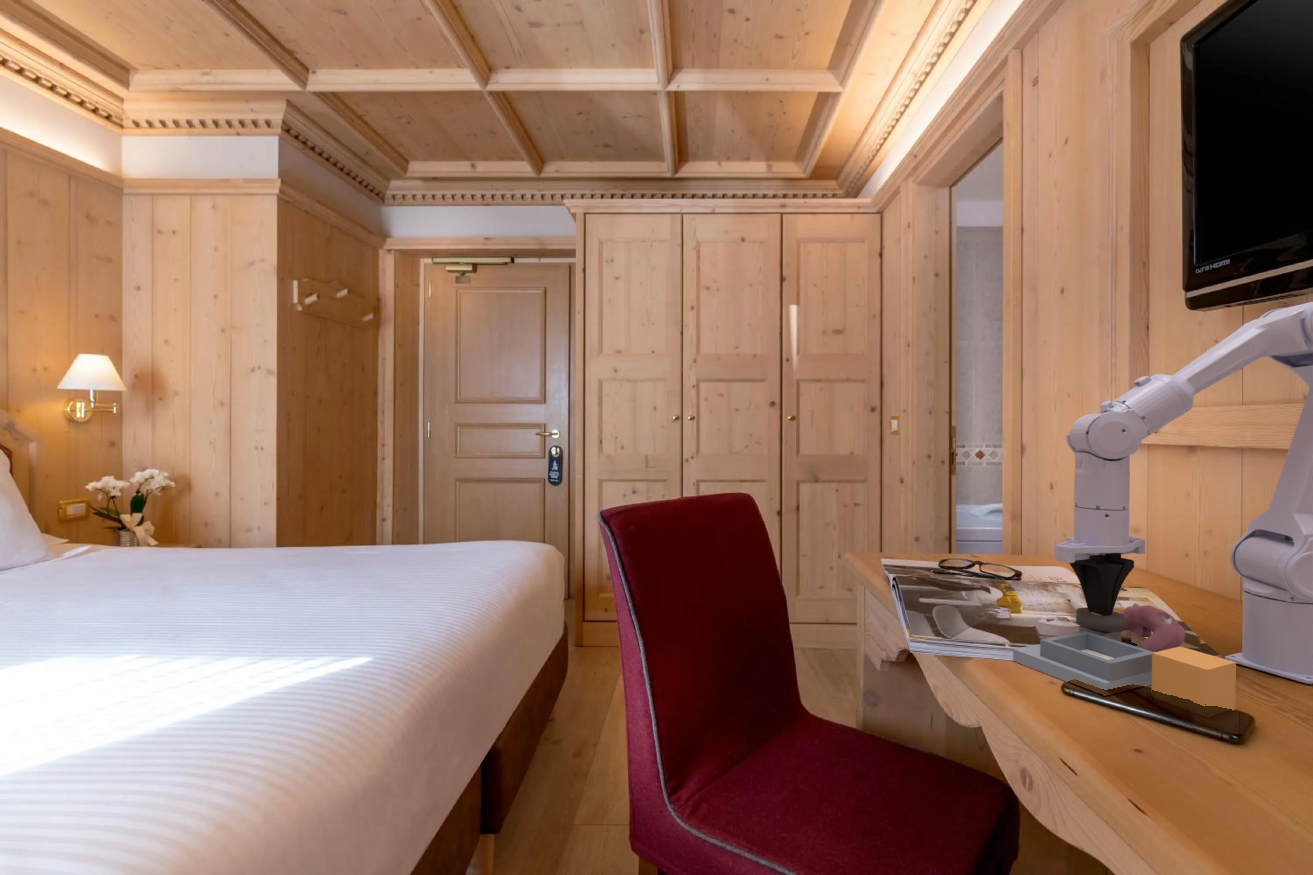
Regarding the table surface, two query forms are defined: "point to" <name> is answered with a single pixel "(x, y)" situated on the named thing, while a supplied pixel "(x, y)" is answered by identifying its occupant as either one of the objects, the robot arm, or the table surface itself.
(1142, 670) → the chassis
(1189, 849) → the table surface
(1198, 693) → the orange cube
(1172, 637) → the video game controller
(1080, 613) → the wheel
